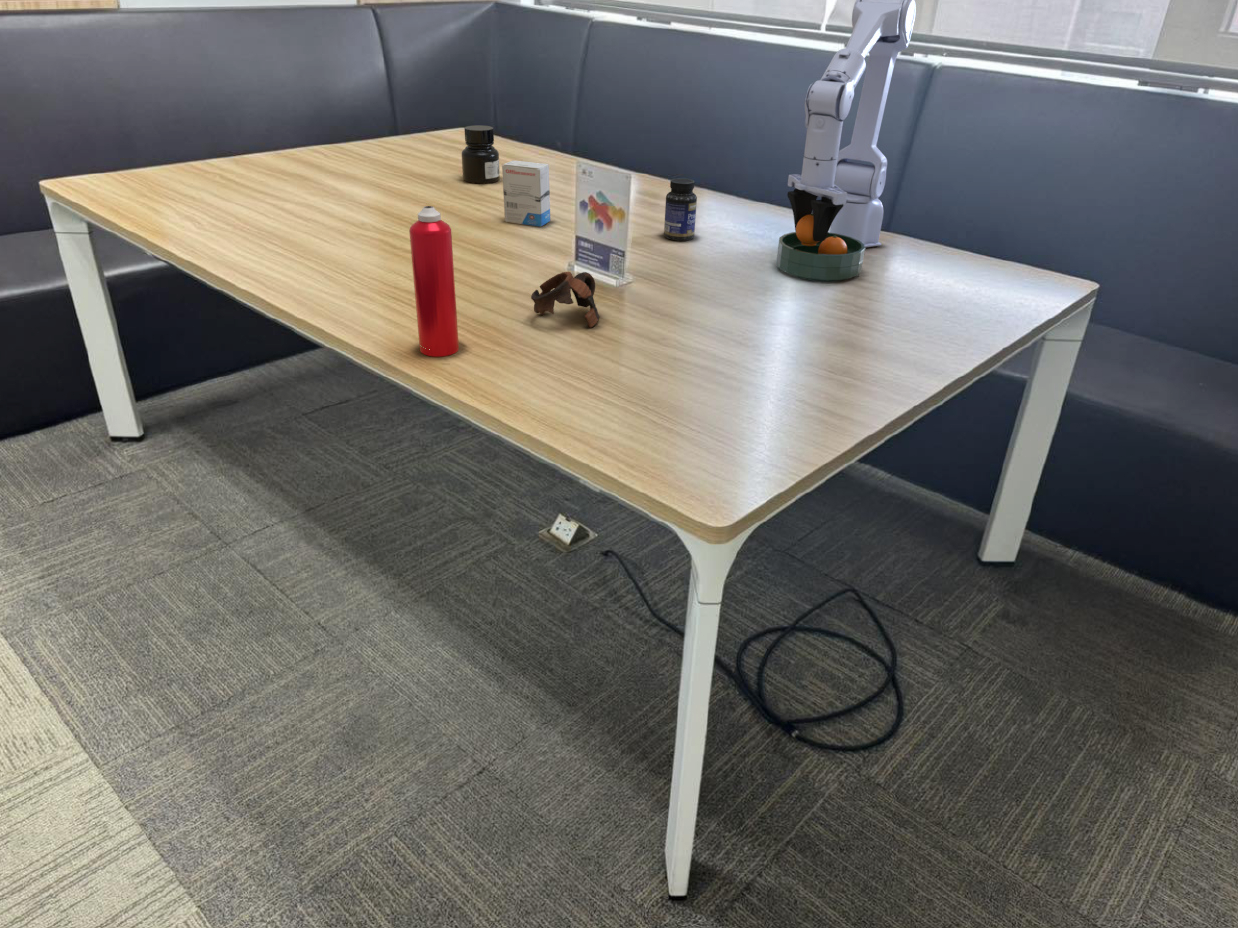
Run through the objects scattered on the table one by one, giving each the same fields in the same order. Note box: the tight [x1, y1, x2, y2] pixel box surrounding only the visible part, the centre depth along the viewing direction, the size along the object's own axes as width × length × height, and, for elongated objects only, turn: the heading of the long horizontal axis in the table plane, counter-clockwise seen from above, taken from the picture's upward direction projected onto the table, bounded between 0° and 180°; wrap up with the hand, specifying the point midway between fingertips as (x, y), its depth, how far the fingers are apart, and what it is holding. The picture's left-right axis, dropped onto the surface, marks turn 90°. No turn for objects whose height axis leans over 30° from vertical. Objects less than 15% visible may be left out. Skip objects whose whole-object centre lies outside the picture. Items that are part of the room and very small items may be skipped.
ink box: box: [501, 160, 551, 228], centre depth 183 cm, size 9×5×12 cm, turn 68°
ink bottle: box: [461, 124, 501, 184], centre depth 214 cm, size 10×9×12 cm
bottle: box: [408, 205, 460, 358], centre depth 122 cm, size 5×6×20 cm
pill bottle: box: [663, 177, 698, 242], centre depth 177 cm, size 6×6×11 cm
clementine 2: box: [818, 236, 847, 255], centre depth 163 cm, size 5×5×6 cm
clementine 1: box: [795, 212, 819, 246], centre depth 159 cm, size 5×5×6 cm
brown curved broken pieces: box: [530, 271, 600, 329], centre depth 138 cm, size 12×10×8 cm
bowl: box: [775, 231, 866, 282], centre depth 163 cm, size 15×15×5 cm
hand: (809, 236), depth 160 cm, fingers closed on clementine 1, 5 cm apart
